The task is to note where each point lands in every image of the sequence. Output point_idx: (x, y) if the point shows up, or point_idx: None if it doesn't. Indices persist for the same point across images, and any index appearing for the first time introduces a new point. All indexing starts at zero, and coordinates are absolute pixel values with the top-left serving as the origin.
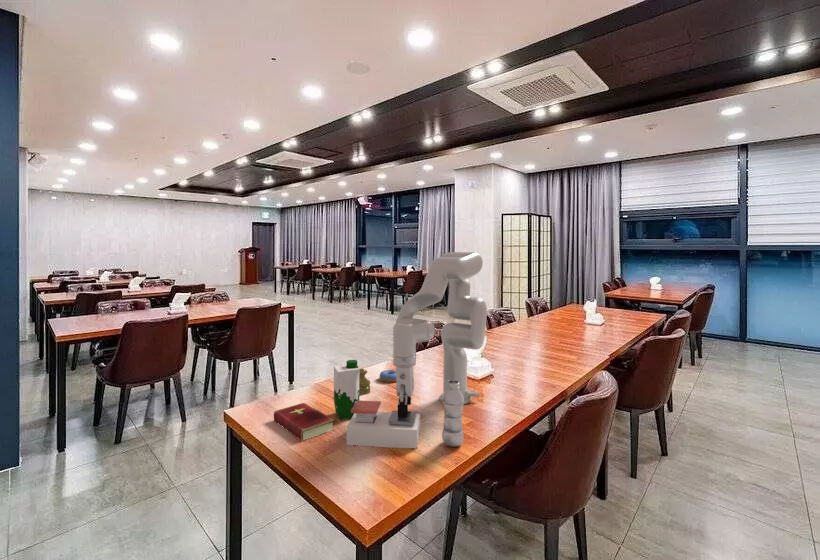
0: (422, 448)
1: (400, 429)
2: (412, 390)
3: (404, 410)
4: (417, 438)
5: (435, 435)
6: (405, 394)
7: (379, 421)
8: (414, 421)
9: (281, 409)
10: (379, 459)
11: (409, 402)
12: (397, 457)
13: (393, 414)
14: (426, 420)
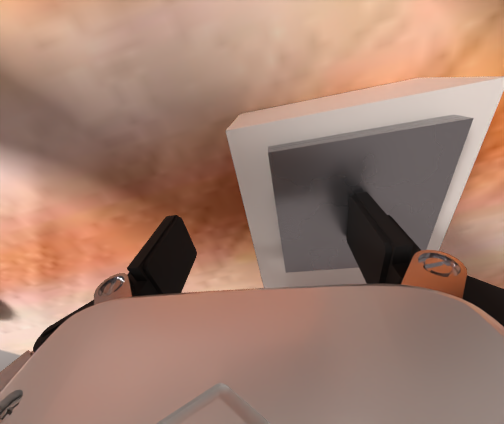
0: (415, 46)
1: (462, 186)
2: (314, 344)
3: (403, 232)
4: (395, 86)
5: (264, 7)
6: (165, 289)
7: (359, 282)
8: (438, 122)
9: None
10: (480, 199)
11: (176, 227)
12: (482, 143)
13: (335, 260)
14: (131, 111)
